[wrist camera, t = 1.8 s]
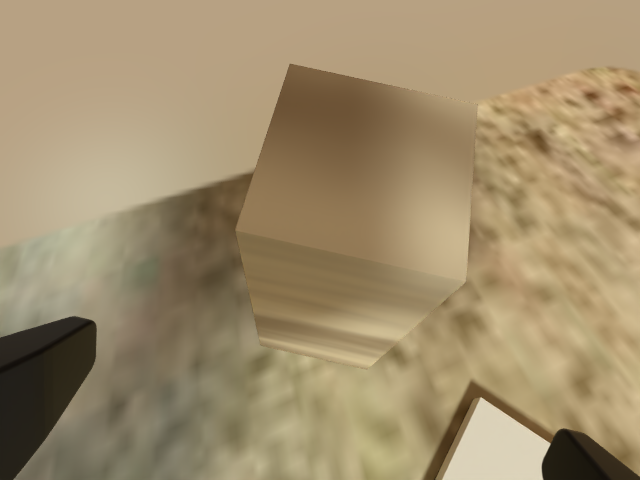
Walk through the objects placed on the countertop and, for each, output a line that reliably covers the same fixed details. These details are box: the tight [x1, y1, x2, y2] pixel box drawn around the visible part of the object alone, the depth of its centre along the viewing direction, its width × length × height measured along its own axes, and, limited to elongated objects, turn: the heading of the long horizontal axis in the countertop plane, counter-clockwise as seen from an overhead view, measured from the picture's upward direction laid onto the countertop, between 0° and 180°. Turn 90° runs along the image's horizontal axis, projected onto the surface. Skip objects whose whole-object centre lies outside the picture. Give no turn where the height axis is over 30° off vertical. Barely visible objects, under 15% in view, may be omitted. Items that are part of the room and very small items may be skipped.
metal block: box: [235, 64, 478, 370], centre depth 16 cm, size 5×5×12 cm
